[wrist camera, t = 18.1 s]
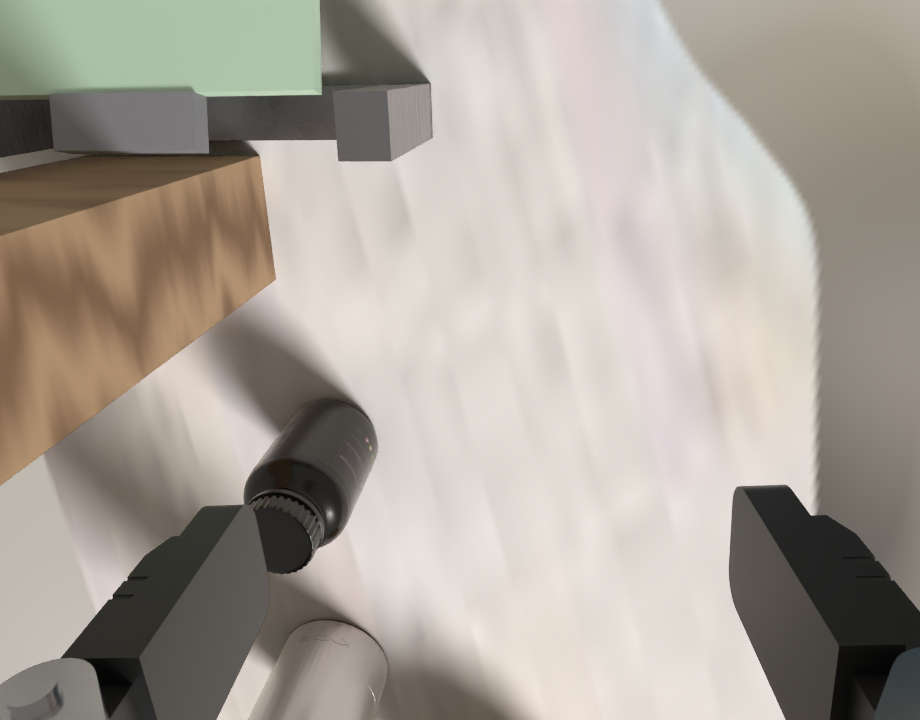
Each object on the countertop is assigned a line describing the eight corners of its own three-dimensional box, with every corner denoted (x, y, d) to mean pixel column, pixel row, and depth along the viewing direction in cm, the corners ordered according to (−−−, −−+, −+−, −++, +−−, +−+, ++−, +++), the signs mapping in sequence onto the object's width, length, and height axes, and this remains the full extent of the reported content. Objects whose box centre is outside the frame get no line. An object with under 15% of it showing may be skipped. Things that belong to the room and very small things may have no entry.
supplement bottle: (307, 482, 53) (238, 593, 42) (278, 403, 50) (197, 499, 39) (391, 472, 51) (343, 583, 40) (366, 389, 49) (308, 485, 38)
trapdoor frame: (432, 137, 41) (391, 161, 32) (66, 140, 44) (-72, 162, 35) (430, 83, 40) (387, 90, 30) (54, 90, 43) (-92, 99, 34)
